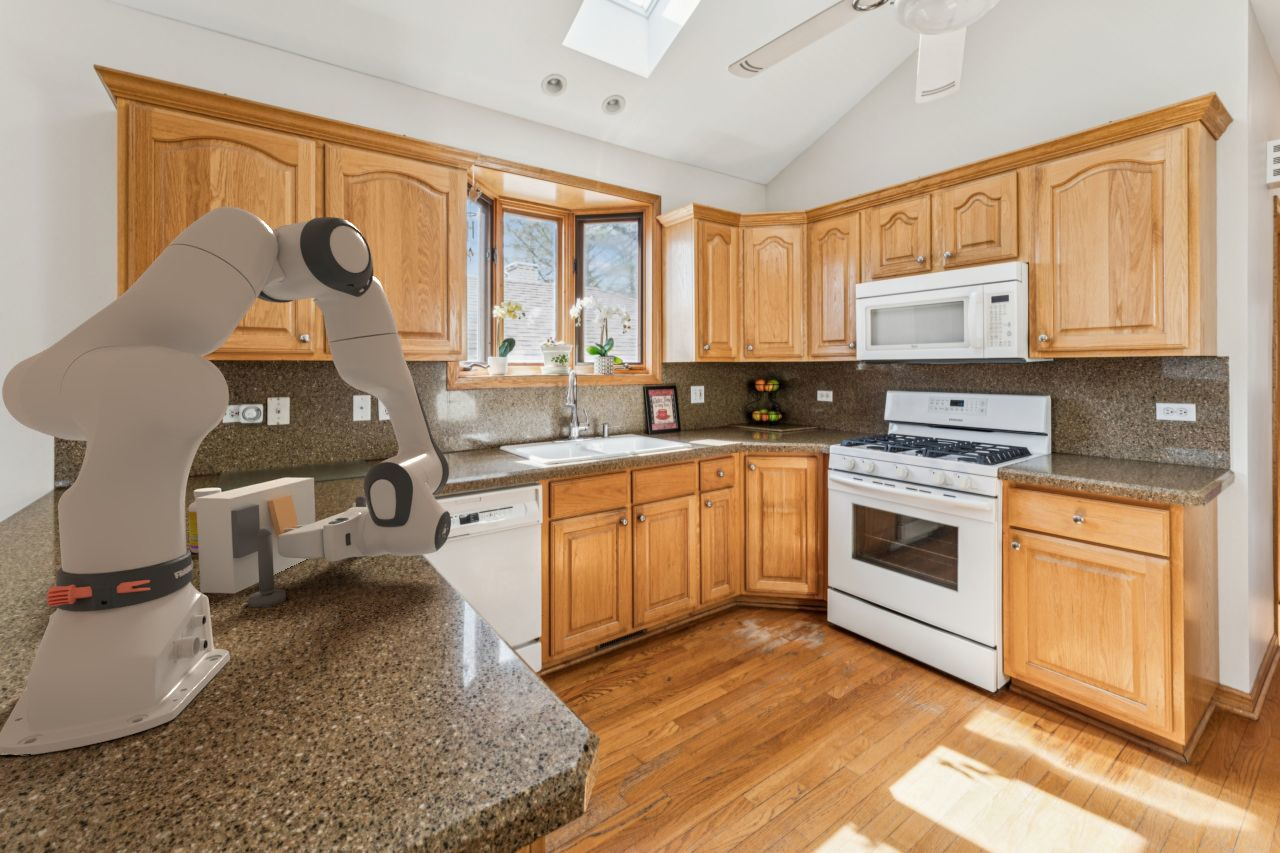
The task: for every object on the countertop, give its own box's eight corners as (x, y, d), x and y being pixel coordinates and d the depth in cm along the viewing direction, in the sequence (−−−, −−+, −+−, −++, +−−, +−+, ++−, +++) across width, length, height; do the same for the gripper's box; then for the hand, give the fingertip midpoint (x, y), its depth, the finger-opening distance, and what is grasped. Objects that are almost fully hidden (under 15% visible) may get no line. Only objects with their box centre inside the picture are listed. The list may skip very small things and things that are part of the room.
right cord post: (375, 554, 121) (374, 496, 120) (348, 557, 119) (347, 498, 118) (375, 548, 125) (373, 492, 125) (349, 550, 123) (347, 494, 122)
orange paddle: (301, 536, 111) (291, 495, 110) (283, 543, 106) (272, 500, 105) (296, 537, 111) (286, 495, 110) (278, 544, 106) (267, 501, 105)
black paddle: (260, 549, 102) (258, 504, 102) (239, 558, 97) (236, 510, 97) (255, 549, 102) (253, 504, 102) (233, 558, 97) (231, 510, 97)
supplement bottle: (214, 554, 120) (211, 492, 120) (182, 554, 121) (178, 492, 120) (236, 545, 127) (234, 486, 126) (206, 545, 127) (203, 486, 126)
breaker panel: (316, 555, 120) (313, 477, 119) (234, 593, 98) (230, 498, 97) (288, 554, 120) (285, 477, 119) (200, 592, 98) (195, 497, 97)
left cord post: (283, 604, 93) (280, 529, 92) (246, 609, 91) (242, 533, 90) (287, 594, 98) (284, 523, 97) (251, 599, 95) (248, 526, 95)
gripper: (389, 503, 117) (323, 504, 118) (325, 527, 97) (246, 528, 98) (390, 534, 117) (325, 534, 119) (328, 564, 97) (249, 565, 98)
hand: (289, 532), depth 108 cm, fingers closed, pressing on orange paddle
